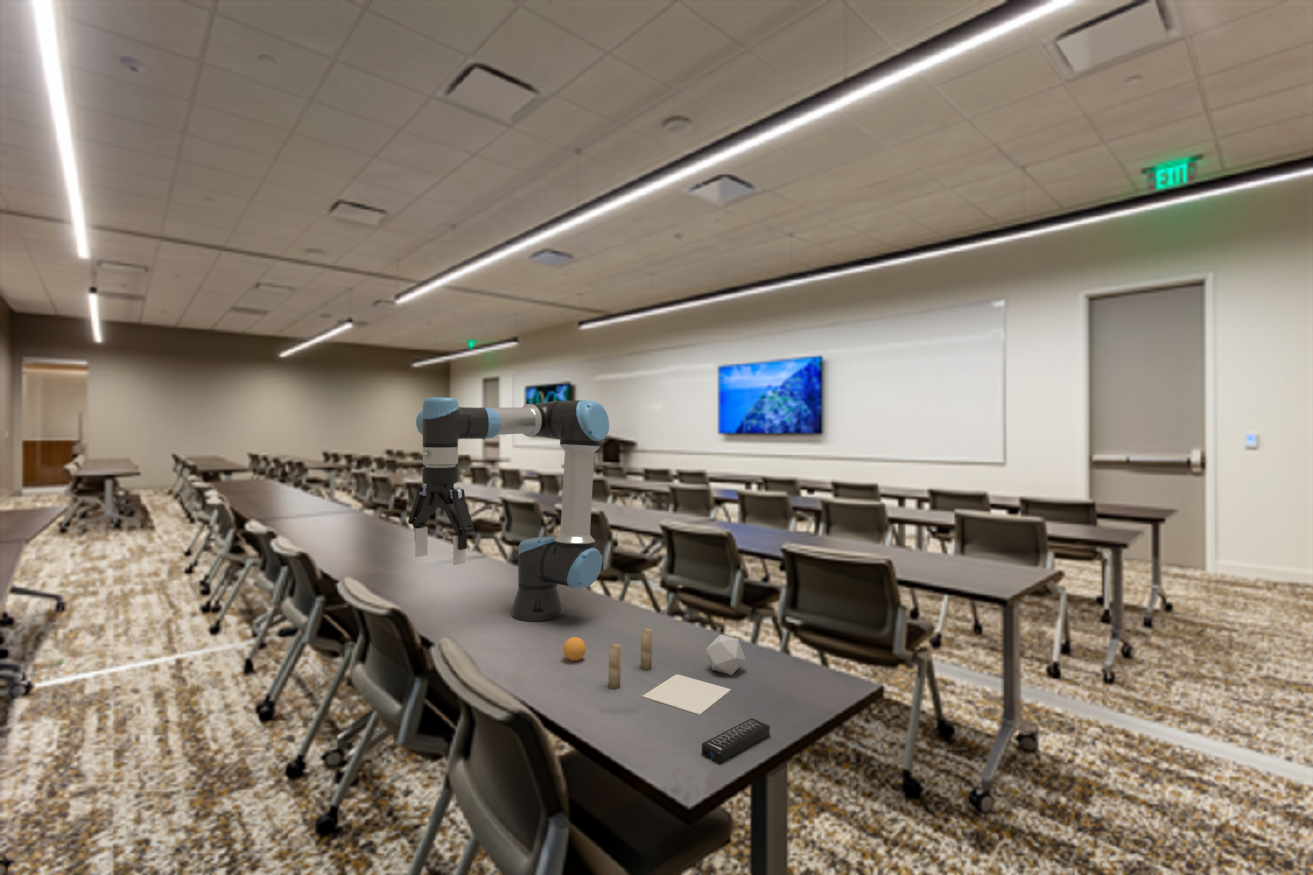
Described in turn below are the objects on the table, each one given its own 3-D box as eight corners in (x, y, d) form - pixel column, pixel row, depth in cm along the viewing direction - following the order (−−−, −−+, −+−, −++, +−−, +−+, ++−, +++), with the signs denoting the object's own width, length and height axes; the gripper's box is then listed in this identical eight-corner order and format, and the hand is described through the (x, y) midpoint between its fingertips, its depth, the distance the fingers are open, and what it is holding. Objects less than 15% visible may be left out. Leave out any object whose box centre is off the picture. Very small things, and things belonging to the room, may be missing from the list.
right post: (644, 664, 146) (645, 627, 146) (653, 667, 144) (654, 629, 144) (638, 668, 144) (639, 630, 143) (647, 671, 142) (648, 632, 142)
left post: (613, 682, 135) (613, 642, 135) (622, 685, 134) (623, 645, 134) (606, 686, 133) (606, 646, 133) (615, 689, 132) (616, 648, 132)
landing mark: (676, 674, 140) (676, 674, 140) (731, 690, 132) (731, 689, 132) (642, 696, 128) (642, 695, 128) (699, 715, 121) (699, 714, 121)
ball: (573, 654, 152) (573, 632, 152) (590, 658, 149) (590, 636, 149) (558, 660, 147) (558, 638, 147) (575, 666, 144) (575, 643, 144)
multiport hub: (770, 738, 113) (770, 725, 113) (719, 767, 103) (719, 753, 103) (751, 729, 116) (751, 717, 116) (700, 756, 106) (700, 743, 106)
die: (751, 672, 144) (738, 633, 149) (745, 666, 137) (732, 625, 142) (718, 683, 145) (707, 643, 150) (711, 677, 138) (699, 635, 143)
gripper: (392, 464, 140) (392, 555, 141) (462, 469, 126) (462, 571, 127) (420, 462, 146) (420, 549, 147) (490, 467, 133) (490, 564, 133)
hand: (439, 559), depth 137 cm, fingers open, 13 cm apart
